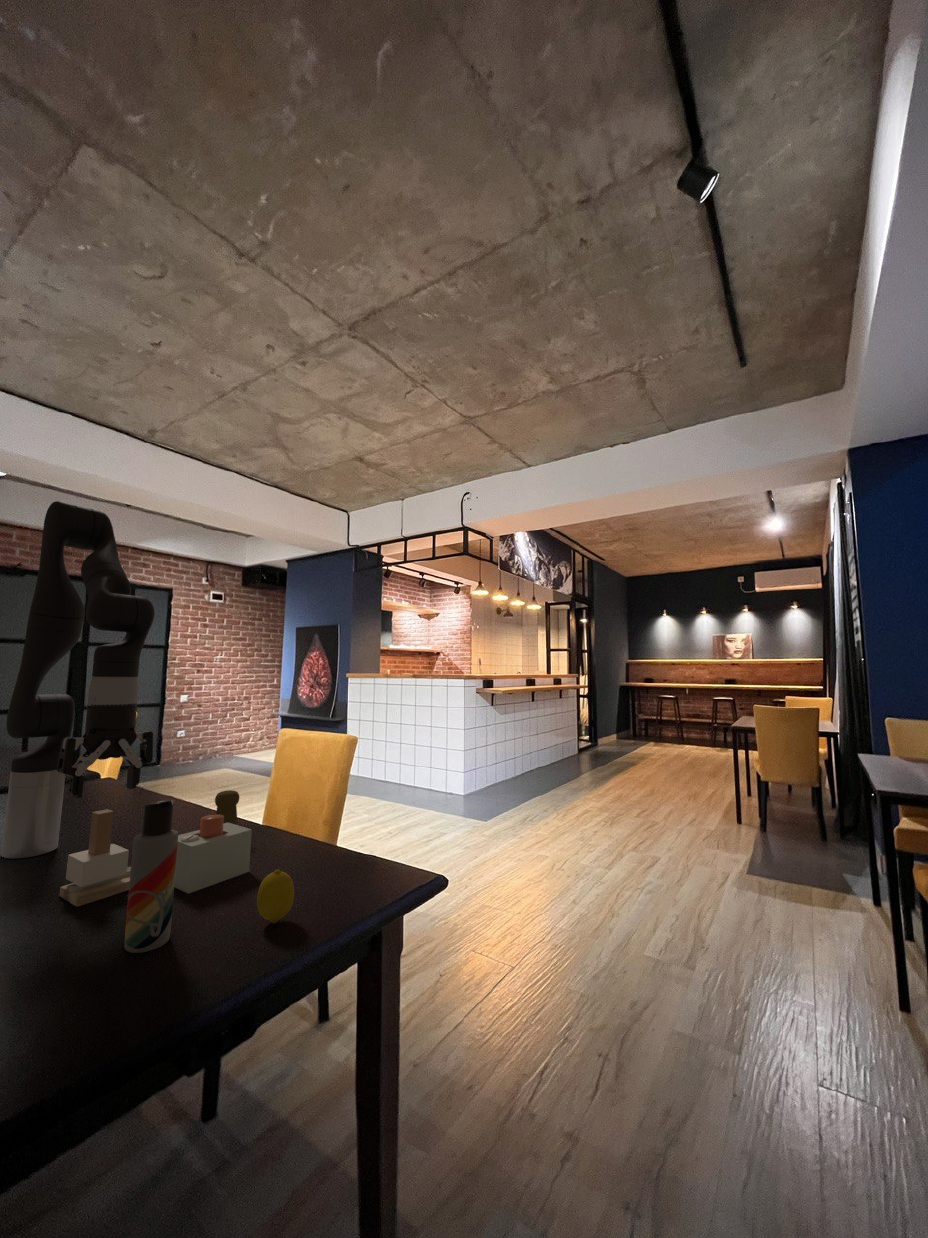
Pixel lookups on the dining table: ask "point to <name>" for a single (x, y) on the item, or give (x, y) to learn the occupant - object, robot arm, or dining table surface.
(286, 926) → the dining table surface
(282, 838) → the dining table surface
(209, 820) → the gauge plunger
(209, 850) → the cabinet
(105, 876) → the carriage
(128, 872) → the rail
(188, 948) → the dining table surface
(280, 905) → the lemon
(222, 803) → the dark brown knob shape
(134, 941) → the lotion bottle
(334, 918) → the dining table surface
